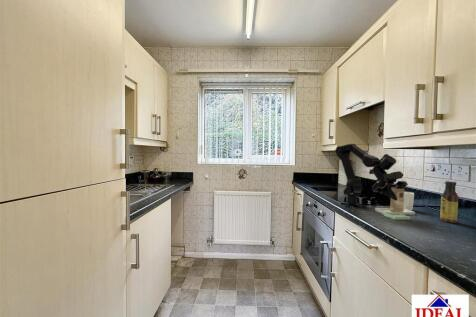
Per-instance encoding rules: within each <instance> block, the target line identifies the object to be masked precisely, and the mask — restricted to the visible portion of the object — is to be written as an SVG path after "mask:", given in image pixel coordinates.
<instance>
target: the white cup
mask: <svg viewBox="0 0 476 317" xmlns="http://www.w3.org/2000/svg"><path fill="white" fill-rule="evenodd" d="M414 199H415V192H411V191H404V209H407V210H410V211H413V206H414V202H415V200H414Z"/></svg>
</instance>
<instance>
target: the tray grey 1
mask: <svg viewBox="0 0 476 317" xmlns="http://www.w3.org/2000/svg"><path fill="white" fill-rule="evenodd" d="M374 210H375V212H377V213H379V214H382V215H384V213H394V212H391V211H390V207H388V208H387V207H385V208H384V207H378V208H377V207H375V209H374Z"/></svg>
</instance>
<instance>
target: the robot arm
mask: <svg viewBox="0 0 476 317" xmlns="http://www.w3.org/2000/svg"><path fill="white" fill-rule="evenodd" d="M334 150H335V154H336V156H337V158H339V159H340V161H341V164H342V167H343V169H344V173H345V177H346V184H345V185H346V187H345V188H344V190H343V191H342V192H343V195H346V202H343V203H344V204H345V205H348V206H360V204H359V203H358V196H361V193H362V190H363V184H362V181H361V179H357V178H356V175H355V172H354V169H353V166H352V163H351V160H350V155H351V153H353V154H354V155H355V156H356V157H357V158H359V159H360V161H361V163H362V164H363V165H364V166H365V168H371V169H369V171H368V173H369V175H374V176H375V178H376V179H375V180H376V182H375V183H374V184H372V186H371V189H372V190H371V191H373V193H375V192H376V193H377V192H379V193H380V194H383V195H385V196H387V197H389V198H390V199H391V198H392V199H394V200H397V198H396V196H395V194H394V193H393V191H392V190H391V188H400V189H405V188H406V187H407V186H408V185H409V183H408V182H407V181H405V180H399V179H403V177H404V173H403V172H402V171H400V170H398V171H391V172H390V173H388V172H387V171H389V170H391V169H392V168H393V166H394V165H395V164H396V163H397V160H396V158H395V157H393V156H391V155H389V154H387V153H385V154H383V156H382V157H381V158H379V157H377V156H375V155H372V154H369V153H367V152H366V151H364V149H361V147H359V146H357V144H355V143H348V144H344V145H338V146H336V148H335V149H334ZM397 180H398V181H397ZM379 189H380V191H379Z"/></svg>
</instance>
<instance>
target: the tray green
mask: <svg viewBox="0 0 476 317" xmlns="http://www.w3.org/2000/svg"><path fill="white" fill-rule="evenodd" d="M383 216H385V217H386V218H389V219H392V220H393V221H411V216H410V215H403V214H400V213H384V214H383Z"/></svg>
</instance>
